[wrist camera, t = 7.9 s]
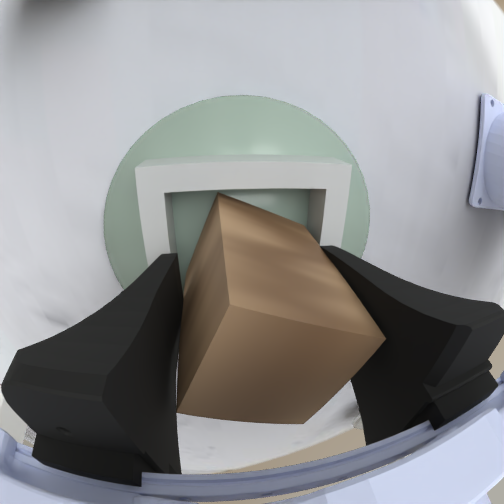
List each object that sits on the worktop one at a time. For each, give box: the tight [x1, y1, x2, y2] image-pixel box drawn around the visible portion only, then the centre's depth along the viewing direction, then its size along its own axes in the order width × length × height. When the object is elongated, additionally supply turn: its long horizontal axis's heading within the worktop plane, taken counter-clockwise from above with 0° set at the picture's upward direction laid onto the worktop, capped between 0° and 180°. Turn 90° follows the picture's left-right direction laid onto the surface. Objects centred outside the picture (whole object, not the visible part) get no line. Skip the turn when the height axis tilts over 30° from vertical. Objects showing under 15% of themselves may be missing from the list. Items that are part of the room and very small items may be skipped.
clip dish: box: [104, 95, 370, 296], centre depth 12 cm, size 13×13×2 cm
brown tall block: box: [176, 192, 386, 424], centre depth 9 cm, size 4×4×7 cm
